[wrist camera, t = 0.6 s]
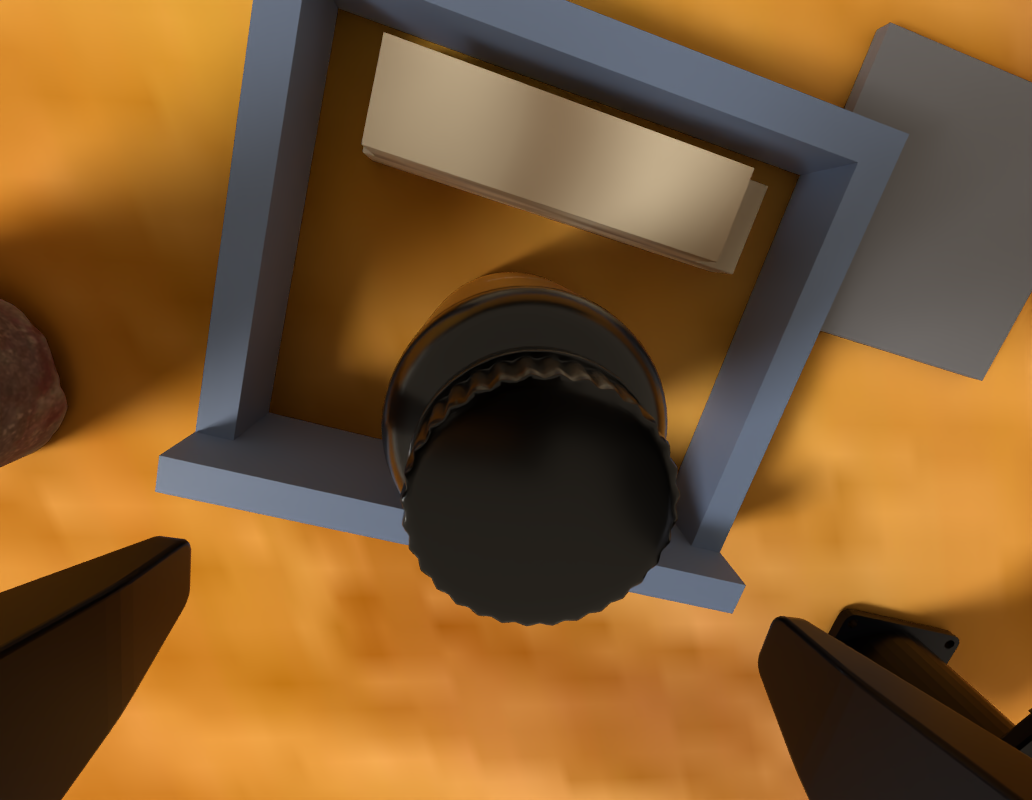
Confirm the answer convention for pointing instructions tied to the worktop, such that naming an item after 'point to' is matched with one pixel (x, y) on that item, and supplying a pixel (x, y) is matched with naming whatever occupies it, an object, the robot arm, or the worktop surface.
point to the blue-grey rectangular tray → (588, 73)
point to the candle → (26, 387)
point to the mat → (942, 208)
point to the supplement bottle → (530, 451)
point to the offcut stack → (557, 158)
